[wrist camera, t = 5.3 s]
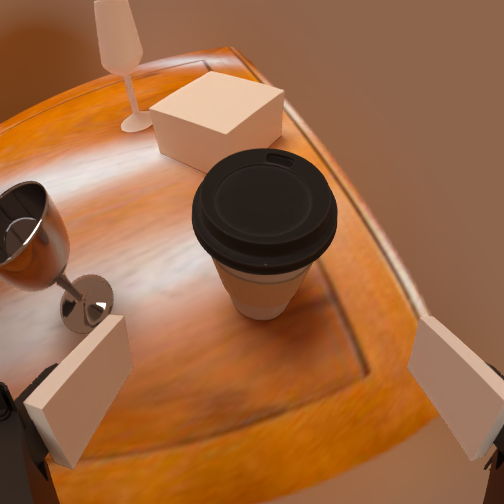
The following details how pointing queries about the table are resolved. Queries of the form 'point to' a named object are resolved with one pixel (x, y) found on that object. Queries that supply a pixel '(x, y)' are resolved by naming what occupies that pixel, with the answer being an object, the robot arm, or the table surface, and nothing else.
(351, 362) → the table surface
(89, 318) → the wine glass
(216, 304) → the table surface
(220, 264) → the coffee cup
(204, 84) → the riser
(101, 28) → the champagne flute
